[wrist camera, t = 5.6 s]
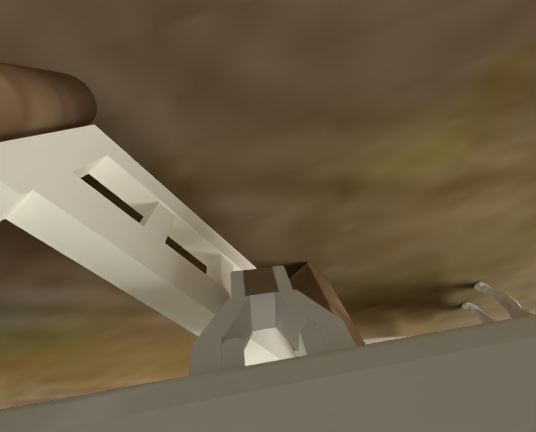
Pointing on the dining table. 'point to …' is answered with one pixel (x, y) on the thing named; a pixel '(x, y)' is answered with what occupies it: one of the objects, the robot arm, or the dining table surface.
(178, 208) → the gate
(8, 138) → the hinge post
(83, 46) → the dining table surface
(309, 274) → the fence post
